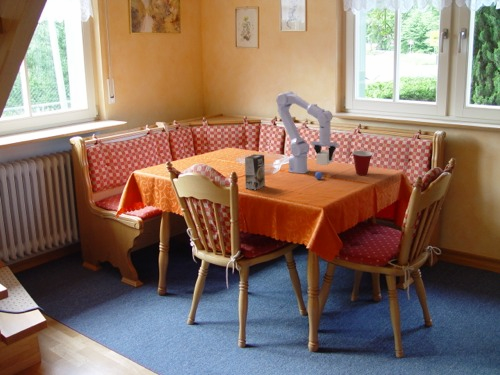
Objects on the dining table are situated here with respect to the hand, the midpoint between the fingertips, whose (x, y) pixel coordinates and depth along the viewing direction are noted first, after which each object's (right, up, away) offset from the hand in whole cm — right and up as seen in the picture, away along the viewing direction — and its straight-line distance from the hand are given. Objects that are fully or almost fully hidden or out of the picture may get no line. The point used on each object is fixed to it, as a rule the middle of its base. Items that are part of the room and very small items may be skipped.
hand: (324, 159), depth 330 cm
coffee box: (-37, -15, -17) cm, 43 cm away
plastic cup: (+20, -8, +1) cm, 22 cm away
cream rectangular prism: (0, -2, +1) cm, 2 cm away
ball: (-4, -9, -6) cm, 11 cm away
